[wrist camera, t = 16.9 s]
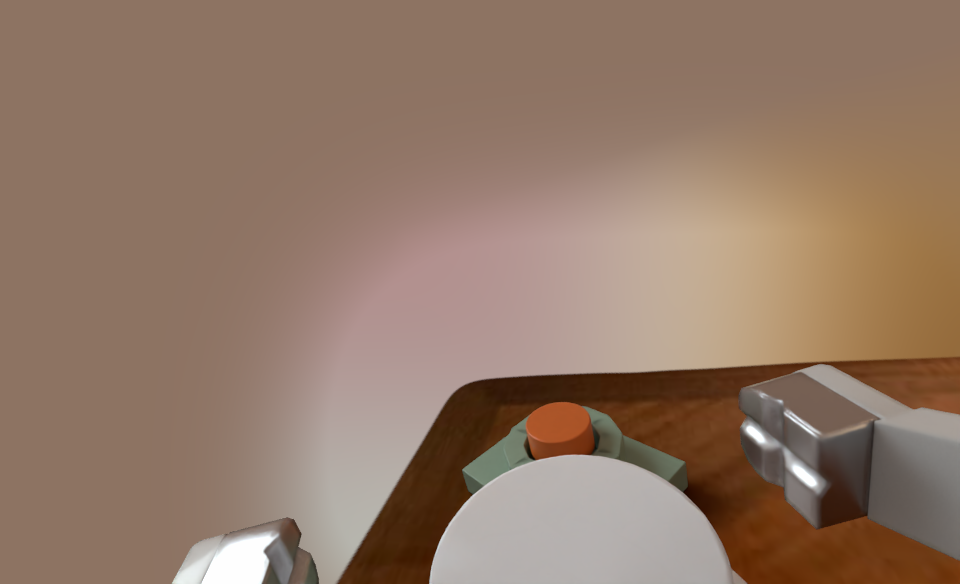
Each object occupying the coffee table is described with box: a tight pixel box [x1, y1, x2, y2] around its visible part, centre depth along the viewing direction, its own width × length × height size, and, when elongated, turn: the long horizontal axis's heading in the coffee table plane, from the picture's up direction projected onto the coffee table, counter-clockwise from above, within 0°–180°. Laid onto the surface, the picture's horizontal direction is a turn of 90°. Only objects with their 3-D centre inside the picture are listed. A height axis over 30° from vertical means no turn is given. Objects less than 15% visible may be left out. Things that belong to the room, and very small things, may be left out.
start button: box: [526, 402, 595, 460], centre depth 26 cm, size 4×4×2 cm
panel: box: [462, 406, 688, 495], centre depth 27 cm, size 10×8×4 cm
